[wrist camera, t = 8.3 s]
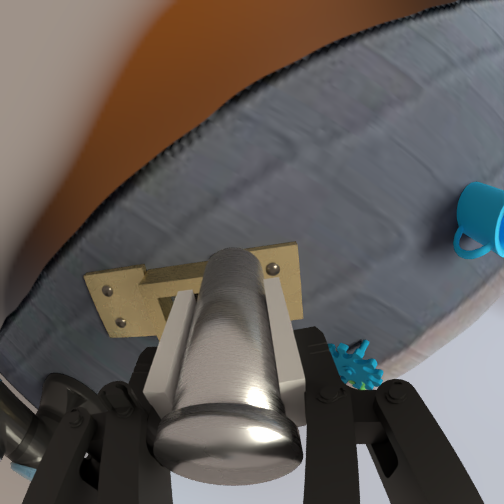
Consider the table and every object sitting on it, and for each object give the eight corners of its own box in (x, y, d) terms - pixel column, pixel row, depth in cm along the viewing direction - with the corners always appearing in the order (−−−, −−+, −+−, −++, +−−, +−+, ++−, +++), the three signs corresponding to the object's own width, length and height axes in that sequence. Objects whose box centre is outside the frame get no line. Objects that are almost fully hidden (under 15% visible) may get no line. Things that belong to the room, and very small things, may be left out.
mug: (480, 170, 28) (520, 182, 21) (495, 213, 31) (530, 230, 23) (431, 222, 31) (469, 244, 23) (450, 263, 33) (483, 289, 26)
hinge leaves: (112, 333, 36) (102, 350, 33) (86, 272, 32) (72, 287, 29) (301, 314, 35) (307, 333, 32) (295, 241, 32) (302, 255, 28)
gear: (307, 344, 36) (372, 359, 28) (329, 314, 39) (391, 322, 31) (330, 387, 40) (384, 402, 32) (348, 359, 43) (400, 370, 35)
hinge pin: (208, 307, 18) (182, 485, 7) (193, 248, 17) (127, 426, 5) (271, 298, 18) (303, 478, 7) (262, 237, 17) (301, 418, 5)
